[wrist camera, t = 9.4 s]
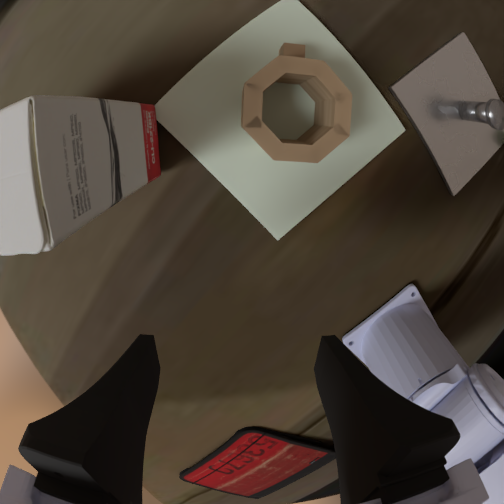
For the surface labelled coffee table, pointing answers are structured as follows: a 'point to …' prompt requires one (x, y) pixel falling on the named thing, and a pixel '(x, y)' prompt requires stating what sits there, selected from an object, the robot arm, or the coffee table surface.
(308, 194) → the pad
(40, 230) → the ink box
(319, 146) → the collar
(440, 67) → the plate
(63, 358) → the coffee table surface
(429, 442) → the robot arm
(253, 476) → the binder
